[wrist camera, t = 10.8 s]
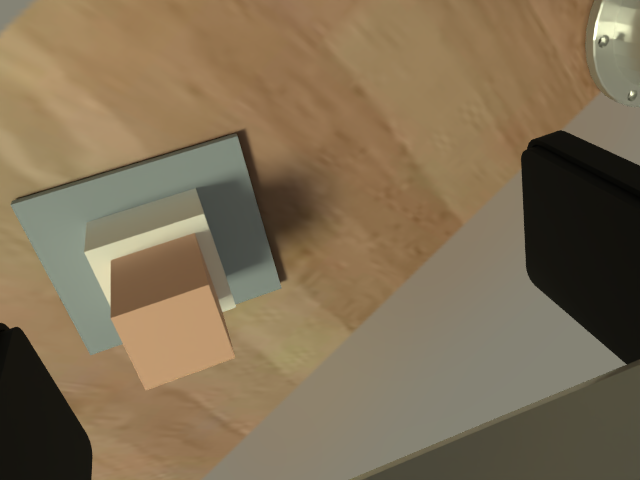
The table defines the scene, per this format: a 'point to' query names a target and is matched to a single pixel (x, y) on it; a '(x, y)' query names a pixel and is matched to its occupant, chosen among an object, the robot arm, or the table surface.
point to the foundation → (150, 229)
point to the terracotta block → (168, 312)
